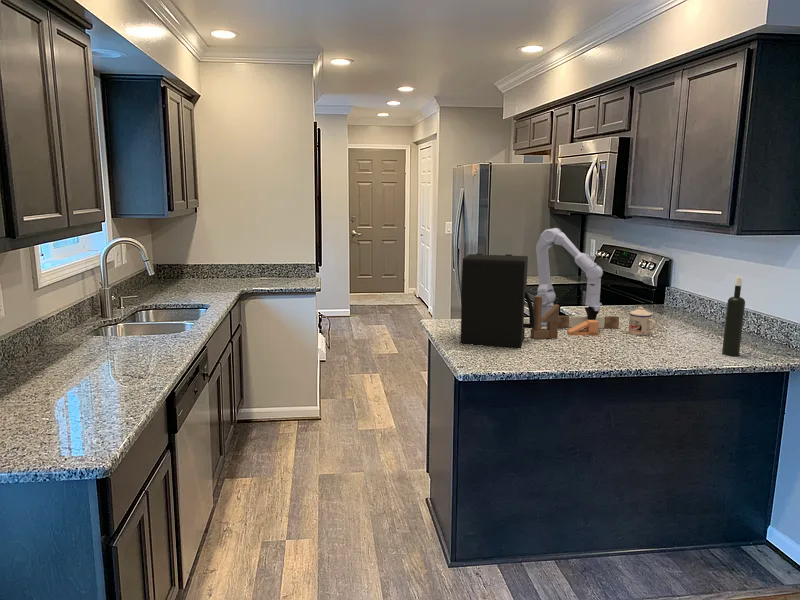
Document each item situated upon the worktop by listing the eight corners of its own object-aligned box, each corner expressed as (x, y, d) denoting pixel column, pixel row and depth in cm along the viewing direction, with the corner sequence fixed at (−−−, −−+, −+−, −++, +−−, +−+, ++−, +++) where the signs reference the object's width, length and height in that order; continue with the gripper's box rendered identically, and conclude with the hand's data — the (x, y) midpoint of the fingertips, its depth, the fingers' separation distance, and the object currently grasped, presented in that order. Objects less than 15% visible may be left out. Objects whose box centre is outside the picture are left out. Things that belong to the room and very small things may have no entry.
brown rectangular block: (555, 328, 269) (556, 316, 268) (554, 327, 271) (555, 315, 270) (618, 328, 269) (619, 316, 268) (617, 328, 270) (618, 316, 269)
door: (570, 327, 269) (571, 316, 268) (570, 327, 270) (570, 316, 269) (604, 328, 269) (604, 317, 268) (603, 327, 270) (604, 316, 269)
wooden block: (557, 338, 251) (560, 296, 248) (533, 339, 250) (535, 296, 246) (554, 336, 255) (556, 294, 252) (530, 337, 253) (531, 295, 250)
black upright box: (534, 337, 252) (538, 255, 246) (531, 349, 234) (535, 260, 227) (468, 333, 260) (470, 252, 253) (460, 344, 241) (462, 258, 235)
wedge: (569, 335, 256) (570, 322, 255) (567, 333, 261) (567, 319, 260) (598, 335, 256) (598, 322, 255) (594, 333, 261) (595, 319, 259)
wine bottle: (719, 354, 229) (728, 276, 223) (724, 351, 233) (733, 274, 227) (736, 357, 225) (745, 278, 219) (741, 354, 229) (750, 276, 223)
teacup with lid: (623, 332, 262) (625, 306, 260) (637, 330, 267) (639, 304, 265) (646, 338, 252) (648, 311, 250) (660, 335, 257) (663, 309, 254)
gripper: (607, 296, 256) (605, 327, 259) (597, 290, 270) (595, 320, 273) (591, 296, 256) (589, 327, 259) (581, 290, 270) (579, 319, 273)
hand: (591, 323), depth 266 cm, fingers closed
